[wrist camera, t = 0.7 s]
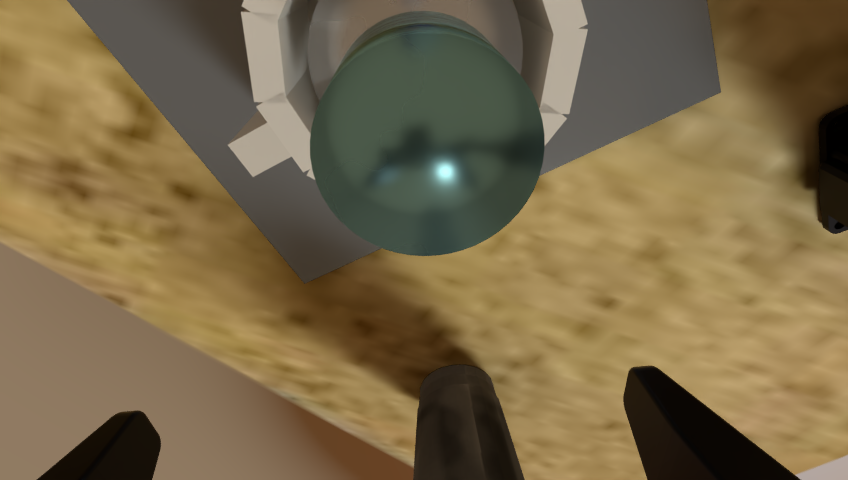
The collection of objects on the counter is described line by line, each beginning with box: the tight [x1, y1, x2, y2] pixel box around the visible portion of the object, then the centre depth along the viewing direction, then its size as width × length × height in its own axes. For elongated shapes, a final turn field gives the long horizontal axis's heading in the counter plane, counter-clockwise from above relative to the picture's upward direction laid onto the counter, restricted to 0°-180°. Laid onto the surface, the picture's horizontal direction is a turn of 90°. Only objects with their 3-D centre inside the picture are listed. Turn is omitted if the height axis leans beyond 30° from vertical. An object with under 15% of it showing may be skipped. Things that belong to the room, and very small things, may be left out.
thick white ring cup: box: [228, 0, 588, 180], centre depth 15 cm, size 11×9×5 cm
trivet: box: [67, 0, 721, 284], centre depth 17 cm, size 20×15×1 cm
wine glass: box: [308, 0, 545, 256], centre depth 10 cm, size 6×6×8 cm
